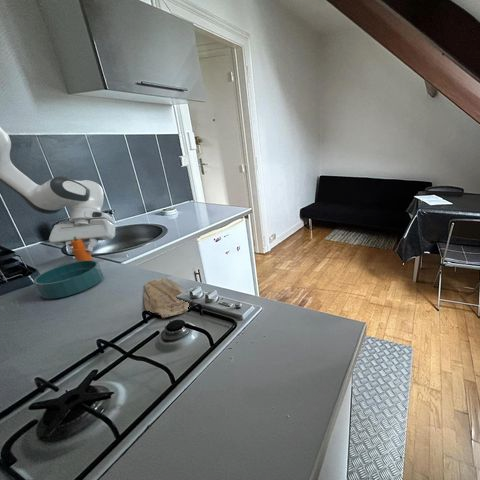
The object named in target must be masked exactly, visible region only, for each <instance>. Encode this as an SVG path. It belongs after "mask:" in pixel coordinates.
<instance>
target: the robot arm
mask: <svg viewBox="0 0 480 480" xmlns="http://www.w3.org/2000/svg"><path fill="white" fill-rule="evenodd" d="M11 149H12V140H11V138H10V136H9V134H8V133H7V132H6V131H5V130H4V129H3V128H2V127H1V126H0V182H1V183H2V184H3V185H5V186H7V187H8V188H10V189H11V190H12V191H13V192H15V193H16V194H17V195H19V196H20V197H21V199H23V200H24V201H25V203H26V204H27V205H28V206H29V207H30V208H32V209H33V210H34V211H37V212H39V213H41V214H47V215H52V214H57V213H58V212H60V211H62V210H63V209H64V208H66V207H70V208H71V211H70V217H69V220H66V221H59V222H57V223H56V224H55V225H54V226H53V228H52V230H51V232H50V235H49V237H48V241H49V243H51V244H53V245H55V246H66V248H67V253H68V254H69V255H74V253H73V251H72V249H73V245H72V243H71V241H72V240H74V238H73V237H76V238H77V239H82V241H83V244H84V243H88V245H85V246H86V247H85V248H86V249H85V251H87V252H90V253H91V252H93V251H94V248H95V247H96V246H97V244H98V242H99V241H106V240H107V241H108V240H113V239H114V238H115V237H116V225H115V222H116V220H115V219H114V217H112V216H111V215H109V214H108V213H106V212H103V211H102V209H103V206H104V201H105V199H104V198H105V197H104V196H105V194H104V189H103V187H102V186H101V185H100V184H99V183H98V182H95V181H93V180H89V179H82V180H77V179H72V178H70V177H67V176H62V175H61V176H55V177H53V178H51V179H49V180H48V181H45V182H44V183H43V184H38V183H36V182H34V181H33V180H32V179H31V178H30V177H28V176H27V175H25V174H24V173H23V172H22V171H21V170H20V169H18V168H17V167H16V166H15V164H14V163H13V162H12V160H11Z"/></svg>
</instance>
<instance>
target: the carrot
mask: <svg viewBox="0 0 480 480" xmlns="http://www.w3.org/2000/svg"><path fill="white" fill-rule="evenodd" d="M73 238H74V240H72V241H71V243H72V245H73V249H72V251H73V253H74V254H73V255H74V257H75V259H76V262H78V261H85V260H94V259H93V257H92V254H91V252H87V251H85V249H86V248H85V247H86V246H87V245H85V244H84V243H83V241H82V239H77V238H76V237H73Z"/></svg>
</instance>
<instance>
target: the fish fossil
mask: <svg viewBox="0 0 480 480" xmlns="http://www.w3.org/2000/svg"><path fill="white" fill-rule="evenodd" d="M184 291H187V290H186V289H185V288H183V287H182V286H181V285H179V284H178V283H176V282H174V281H173V280H171V279H170V278H168V277H159V278H157V279H153V280H150V281H147V282H146V283H145V285H144V289H143V293H142V295H143V297H142V298H143V303H144V308H145V310H146V312H148V311H150V312H153V313H158V314H159V315H161V317H162V318H161V319H165V318H169V317H173V316H177V315H181V314H185V313H187V312H188V310H189V309H188V307H189V303H188V302H185V301H183V300H179V299H177V298H176V296H177V295H179V294H181V293H182V292H184ZM189 308H190V307H189ZM150 312H149V313H150Z"/></svg>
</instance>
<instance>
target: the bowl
mask: <svg viewBox="0 0 480 480" xmlns="http://www.w3.org/2000/svg"><path fill="white" fill-rule="evenodd" d="M103 278H104V273H103V270H102V269H101V266H100V264H99V262H98V260H94V259H93V260H85V261H73V262H69V263H65V264H62V265H59V266H55V267H53V268H50V269H48V270H46V271H44V272H42V273H40V274H39V275H37V276H35V278H34V279H33V282H32V283H33V285H34V287H35V288H36V290H37V292H38V293H39V295H40V297H42V298H43V299H49V300H53V299H59V298H66V297H70V296H73V295H76V294H80V293H82V292H84V291H87V290H89V289H91V288H93V287H94V286H95V285H97V284H98V283H100V282H101V281H102V280H103Z"/></svg>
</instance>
